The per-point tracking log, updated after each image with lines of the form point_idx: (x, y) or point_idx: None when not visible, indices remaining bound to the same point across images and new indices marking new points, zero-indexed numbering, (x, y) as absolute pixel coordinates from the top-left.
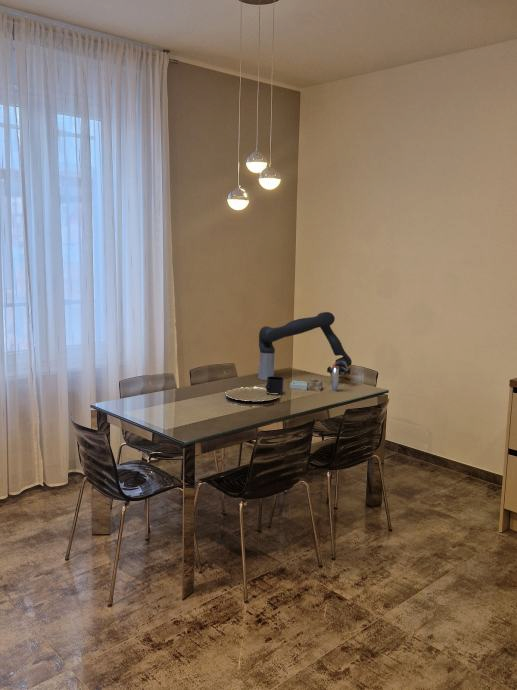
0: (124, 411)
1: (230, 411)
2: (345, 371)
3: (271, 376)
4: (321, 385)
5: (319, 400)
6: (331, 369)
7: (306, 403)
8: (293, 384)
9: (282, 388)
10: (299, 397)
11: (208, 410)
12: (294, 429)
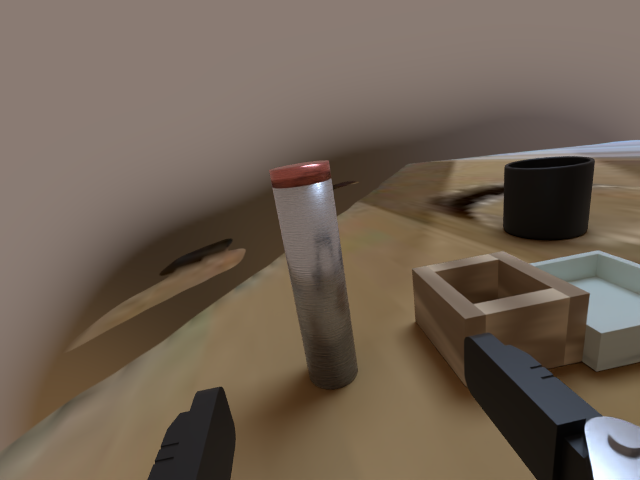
0: (570, 148)
1: (461, 178)
2: (189, 417)
3: (591, 159)
4: (439, 325)
5: (342, 251)
6: (536, 392)
7: (365, 229)
8: (578, 254)
9: (507, 208)
10: (424, 241)
11: (494, 171)
12: None
